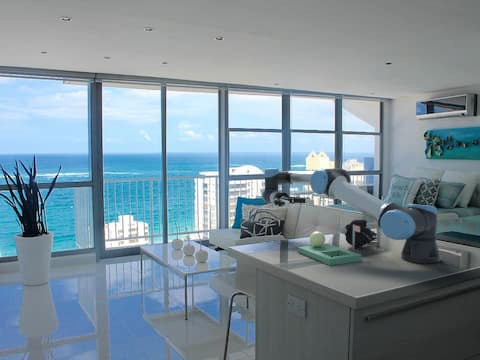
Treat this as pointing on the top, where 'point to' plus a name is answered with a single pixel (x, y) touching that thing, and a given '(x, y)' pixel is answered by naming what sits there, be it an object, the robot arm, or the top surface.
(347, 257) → the green
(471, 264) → the top surface
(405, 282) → the top surface
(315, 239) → the ball
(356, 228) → the flagpost
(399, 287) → the top surface
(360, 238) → the figurine
